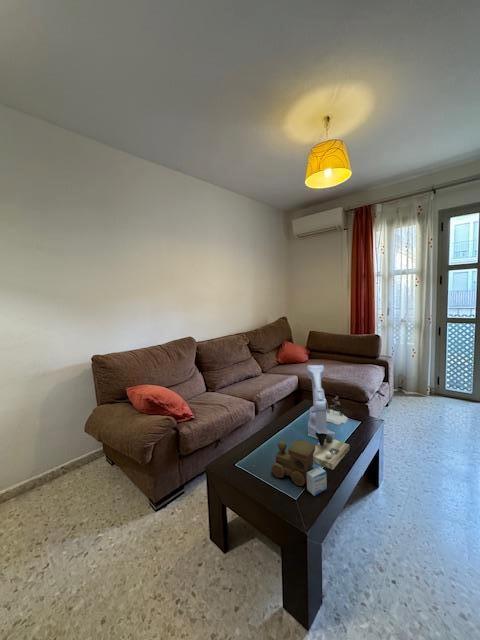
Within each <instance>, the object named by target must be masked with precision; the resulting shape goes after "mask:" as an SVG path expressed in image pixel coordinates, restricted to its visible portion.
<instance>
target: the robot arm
mask: <svg viewBox="0 0 480 640" xmlns="http://www.w3.org/2000/svg"><path fill="white" fill-rule="evenodd" d="M306 370H307V378H308V379H310V380H311V385H312V386H311V387H312V401H313V402H312V403H313V405H312V406H311V407H309V410H308V411H309V420H308V422H307V433H308V434H307V436H308V437H311V438H312V439H313V438H314V439H317V440H318V443H320V446H323V445H324V441H325V438H326V436H327V435H330V436H332V438H335V437H336V432H334V431H332V430H330V429H328V427H327V426H328V422H327V417H326V411H327V407H328V402H327V399H326V396H325V389H324V388H323V387H322V379H323V378H324V376H325V367H324V365H323V364H319V365H318V364H317V365H315V364H313V365H311V364H308V365H307V369H306Z"/></svg>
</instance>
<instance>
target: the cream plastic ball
mask: <svg viewBox="0 0 480 640" xmlns="http://www.w3.org/2000/svg"><path fill="white" fill-rule="evenodd" d="M325 455H326V457H327V458H330V457H331V453H330V452H329V451H327V452H326V453H325Z"/></svg>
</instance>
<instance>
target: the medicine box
mask: <svg viewBox="0 0 480 640" xmlns="http://www.w3.org/2000/svg"><path fill="white" fill-rule="evenodd" d="M327 486H328V485H327V471H326V470H325V469H323V468H322V467H321V466H318V467H315V468H314V469H313V470H311V471H309V472H307V483H306V490H307V491H308V492H309V493H310V494H311V495H312V496H313V497H315V496H317V495H319V494H321V493H322V492H324V491H326V490H327V488H328V487H327Z"/></svg>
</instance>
